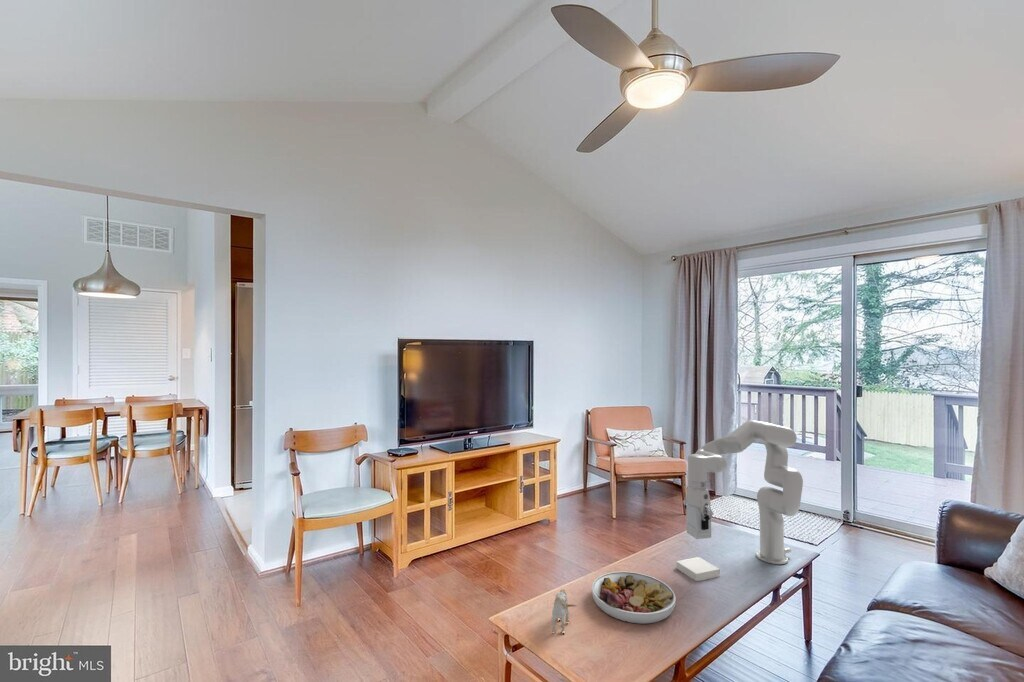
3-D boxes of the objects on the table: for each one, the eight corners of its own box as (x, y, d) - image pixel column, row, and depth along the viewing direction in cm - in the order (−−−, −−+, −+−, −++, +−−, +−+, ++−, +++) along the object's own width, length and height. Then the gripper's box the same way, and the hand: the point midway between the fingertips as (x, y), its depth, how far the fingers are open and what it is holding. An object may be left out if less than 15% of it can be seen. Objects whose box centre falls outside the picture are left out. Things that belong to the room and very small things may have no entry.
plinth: (698, 563, 203) (698, 556, 203) (719, 576, 192) (719, 569, 192) (676, 568, 199) (676, 561, 199) (696, 581, 188) (696, 573, 188)
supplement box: (712, 538, 193) (711, 507, 193) (696, 539, 192) (695, 508, 192) (701, 531, 200) (701, 501, 201) (686, 532, 199) (685, 503, 199)
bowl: (619, 576, 193) (619, 557, 193) (690, 604, 171) (689, 583, 171) (575, 603, 172) (575, 582, 172) (649, 640, 150) (649, 615, 150)
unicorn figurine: (554, 648, 145) (554, 605, 146) (547, 613, 165) (547, 575, 165) (576, 648, 146) (576, 605, 146) (567, 613, 165) (567, 575, 165)
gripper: (720, 489, 189) (720, 532, 189) (690, 477, 206) (690, 517, 205) (705, 491, 187) (705, 534, 187) (676, 479, 203) (676, 519, 203)
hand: (697, 525), depth 196 cm, fingers closed on supplement box, 7 cm apart
